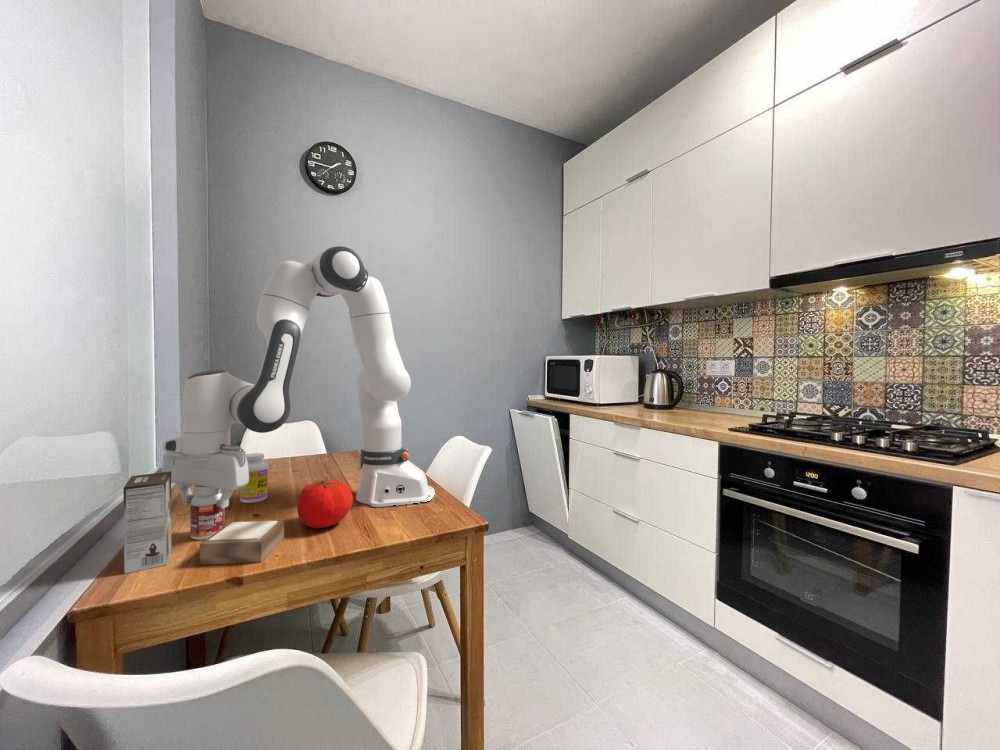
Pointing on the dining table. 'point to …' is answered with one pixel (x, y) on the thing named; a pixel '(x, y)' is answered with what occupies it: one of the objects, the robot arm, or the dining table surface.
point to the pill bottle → (205, 512)
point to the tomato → (324, 503)
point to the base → (242, 542)
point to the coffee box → (147, 521)
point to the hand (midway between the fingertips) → (205, 505)
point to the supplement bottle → (255, 480)
